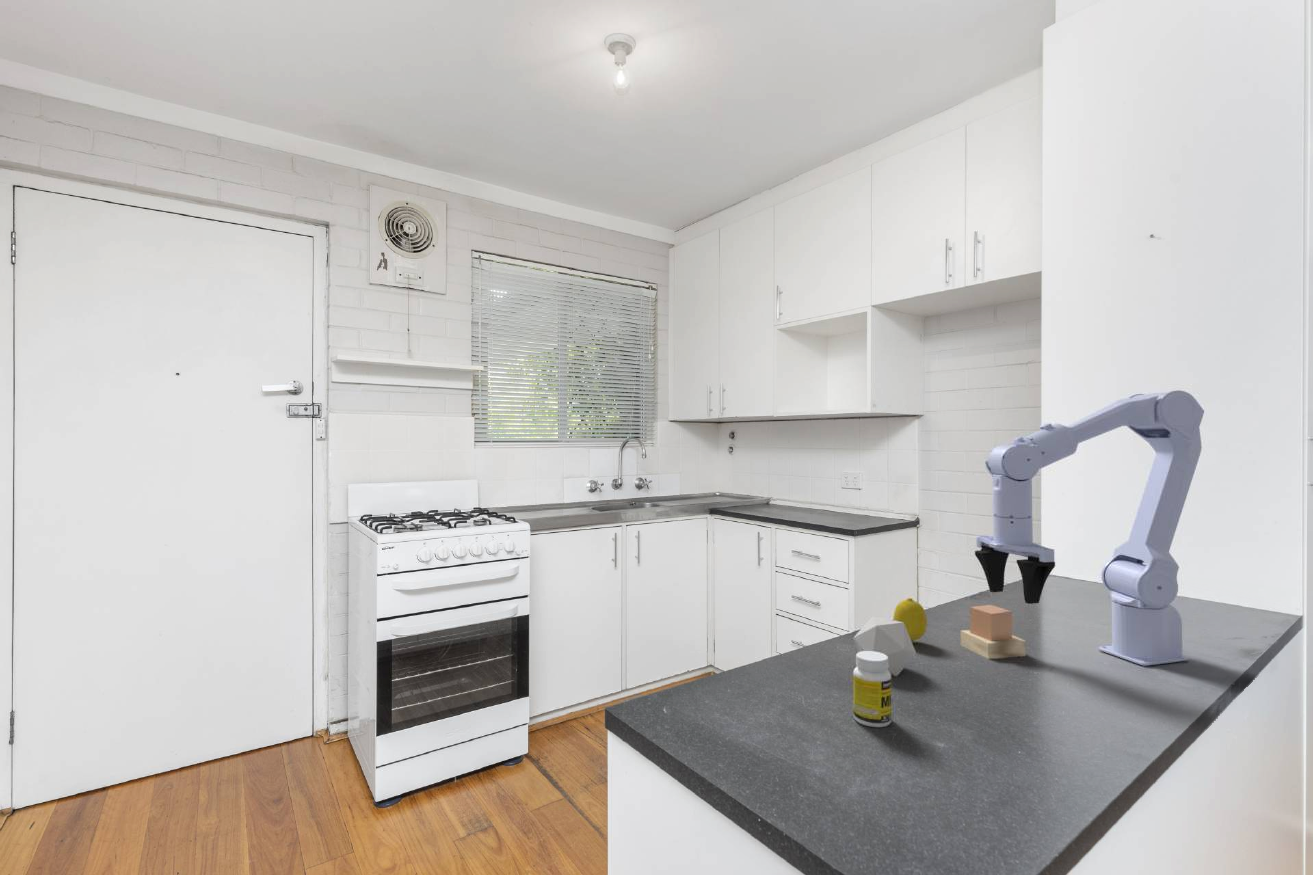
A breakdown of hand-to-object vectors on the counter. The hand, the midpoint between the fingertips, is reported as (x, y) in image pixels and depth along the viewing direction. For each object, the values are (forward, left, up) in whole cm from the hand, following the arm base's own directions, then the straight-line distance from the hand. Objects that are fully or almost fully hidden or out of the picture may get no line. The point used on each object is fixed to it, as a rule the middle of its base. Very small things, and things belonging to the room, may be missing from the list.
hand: (1013, 597), depth 105 cm
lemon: (+13, -10, -10) cm, 19 cm away
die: (+25, 0, -10) cm, 27 cm away
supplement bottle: (+37, +15, -10) cm, 41 cm away
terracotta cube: (+2, -3, -7) cm, 8 cm away
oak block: (+2, -3, -10) cm, 11 cm away
